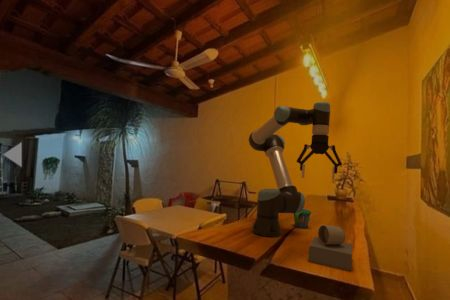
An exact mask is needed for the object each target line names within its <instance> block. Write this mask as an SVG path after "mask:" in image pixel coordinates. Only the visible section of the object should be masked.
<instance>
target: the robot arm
mask: <svg viewBox="0 0 450 300" xmlns="http://www.w3.org/2000/svg"><path fill="white" fill-rule="evenodd" d="M330 118H331V103H330V102H325V101H317V102H315V103H314V104H313V106H312V109H304V108H297V107H293V106H287V105H278V106H277V107H276V108H275V109H274V112H273V116H272V117H271V118H269V120H267V121H266V122H265V123H264V124H263V125H261V126H260V127H259V128H258V129H254V130H252V132H251V133H250V134H249V137H248V143H249V146H250V147H251V148H252V149H253V150H254V151H258V152H264V155H265V157H267V158H268V160H269V163H270V166H271V169H272V173H273V176H274V180H275V183H276V187H277V188H262V189H259V191H258V192H257V199H256V200H257V202H256V203H257V204H256V218H255V220H254V223H253V225H252V229H251V230H252V231H253V232H254V233H253V232H252V233H253V234H255V233H256V234H255V235H257V234H260V235H259V236H261V235H265V236H264V237H266V236H277V237H279V236H278V235H280V236H282V228H281V225H280V221H279V214H294V213H299V212H301V211H302V210H303V209H305V204H306V203H305V202H306V198H305V195H304V193H303V192H300V191H298V189H297V186H295V185H294V184H293V182H292V180H291V177H290V174H289V173H290V172H289V171H288V167H287V164H286V162H285V159H284V155H283V153H284V150H285V147H286V146H285V144H286V142H285V139H284V138H283V137H282V136H281V135H280V134H276V133H277V132H278V131H279V130H280V129H282V128H283V127H285V126H286V125H287V124H289V123H292V124H299V125H300V126H309V125H312V129H311V143H310V144H306V143H305V144H304V145H303V149H302V151H301V153H300V154H299V156H298V157H297V159H296V163H298V164H299V170H300V171H301V178H303V179H305V173H306V172H305V170H306V169H305V168H306V164H305V162H307V161H308V160H309V159H310V158H311V156H313V155H325V156H326V157H327V159H328V160H329V161H330V162H331V163H332V165H333V166H332V170H331V171H332V172H331V174H332V175H331V181H333V182H334V181H335V174H337V173H338V167H340V166H342V165H343V164H342V161H341V159H340V157H339V155H338V153H337V151H336V145H335V144H334V145H332V144H331V145H329V133H330V120H331V119H330ZM308 149H311V151H309V153H307V151H308ZM329 149H330V150H331V151H332V152H333V155H334V157H335V160H336V161H337V162H336V161H335V160H334V159H333V157H332V156H331V155H330V154H329V152H328V150H329ZM306 153H307V155H306V156H305V154H306ZM304 156H305V157H304ZM303 157H304V158H303Z"/></svg>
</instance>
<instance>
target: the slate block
mask: <svg viewBox="0 0 450 300" xmlns="http://www.w3.org/2000/svg"><path fill="white" fill-rule="evenodd" d="M352 257H353V243H350V242H345V241H344V243H343V244H340V245H323V244H322V243H321V242H320V240H319V238H318V236H314V237H313V239H312V240H311V242H310V244H309V245H308V262H311V263H315V264H320V265H323V266H326V267H327V266H328V267H330V268H331V267H332V268H336V269H340V270H344V271H349V272H351V271H352V261H353V258H352Z"/></svg>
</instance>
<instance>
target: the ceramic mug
mask: <svg viewBox="0 0 450 300" xmlns="http://www.w3.org/2000/svg"><path fill="white" fill-rule="evenodd" d="M317 237H318V238H319V240H320V242H321V243H322V244H323V245H340V244H343V243H344V242H345V240H346V233H345V231H344V229H343V228H342V227H339V226H337V225H328V224H322V225H320V226H319V228H318V232H317Z"/></svg>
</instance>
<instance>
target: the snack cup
mask: <svg viewBox="0 0 450 300" xmlns="http://www.w3.org/2000/svg"><path fill="white" fill-rule="evenodd" d="M311 214H312V211H311V210H309V209H306V208H303V210H302V211H301V212H299V213H293V218H294V219H293V221H294V226H295V227H297V228H301V229H306V228H308V226H309V222H310V217H311Z"/></svg>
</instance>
